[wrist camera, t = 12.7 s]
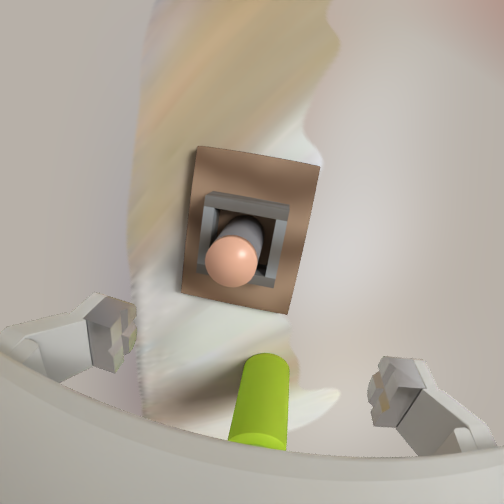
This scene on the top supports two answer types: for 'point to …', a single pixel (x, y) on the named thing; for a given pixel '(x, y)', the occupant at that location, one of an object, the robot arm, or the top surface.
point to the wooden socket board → (255, 205)
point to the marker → (236, 252)
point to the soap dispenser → (262, 403)
